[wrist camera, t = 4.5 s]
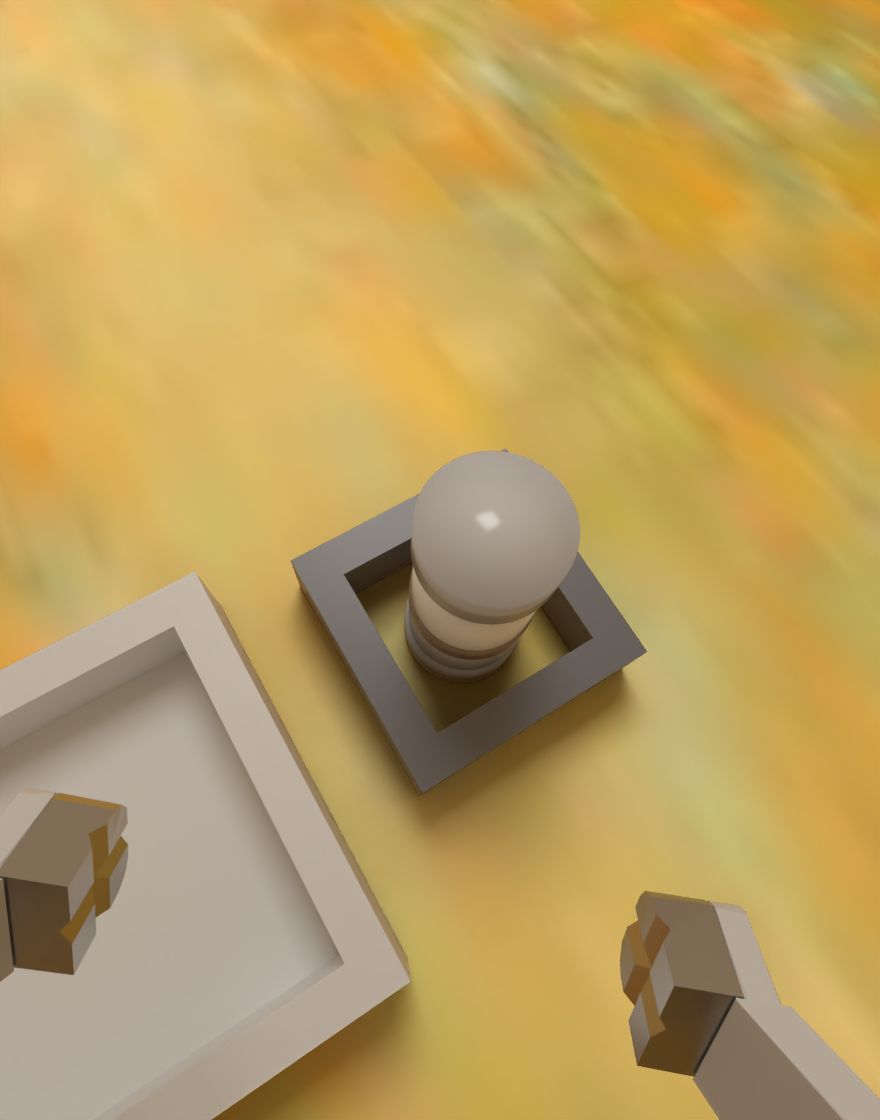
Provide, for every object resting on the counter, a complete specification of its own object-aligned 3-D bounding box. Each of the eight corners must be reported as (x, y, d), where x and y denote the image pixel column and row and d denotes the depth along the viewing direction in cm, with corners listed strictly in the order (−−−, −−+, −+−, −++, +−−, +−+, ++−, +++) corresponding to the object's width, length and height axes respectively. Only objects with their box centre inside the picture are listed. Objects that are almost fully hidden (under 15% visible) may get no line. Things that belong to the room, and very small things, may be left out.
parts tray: (-54, 1272, 19) (-148, 1368, 15) (-199, 824, 22) (-304, 824, 18) (407, 957, 22) (410, 981, 18) (220, 605, 25) (195, 571, 22)
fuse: (441, 703, 24) (470, 638, 16) (383, 607, 25) (381, 496, 17) (537, 646, 25) (612, 555, 17) (477, 555, 26) (520, 425, 18)
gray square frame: (419, 796, 23) (422, 792, 21) (299, 585, 25) (290, 560, 23) (622, 667, 25) (647, 651, 23) (495, 481, 27) (506, 448, 25)
